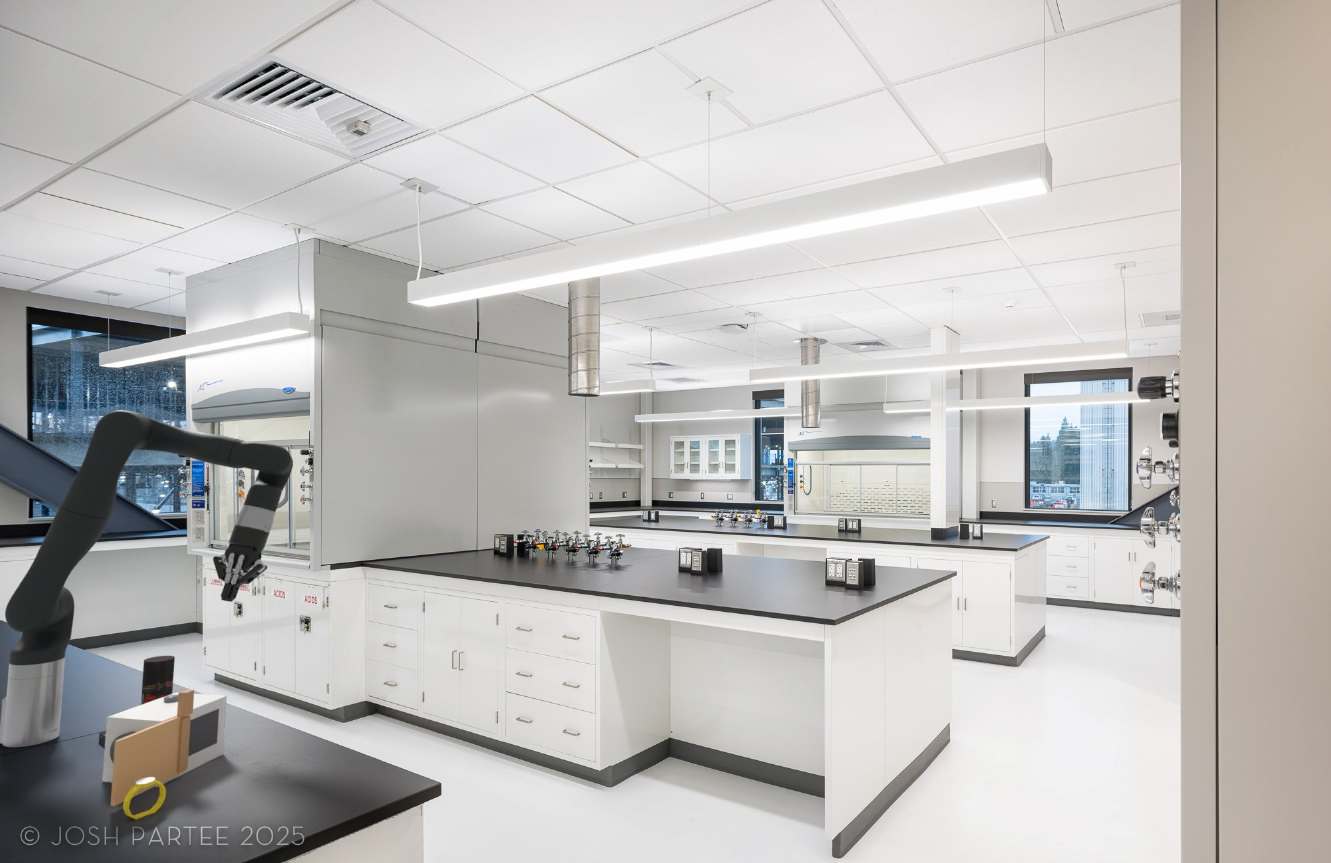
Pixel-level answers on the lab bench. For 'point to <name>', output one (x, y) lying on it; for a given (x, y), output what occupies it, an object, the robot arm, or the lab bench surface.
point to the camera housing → (203, 724)
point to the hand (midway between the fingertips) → (226, 600)
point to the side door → (153, 752)
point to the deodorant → (157, 678)
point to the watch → (139, 784)
